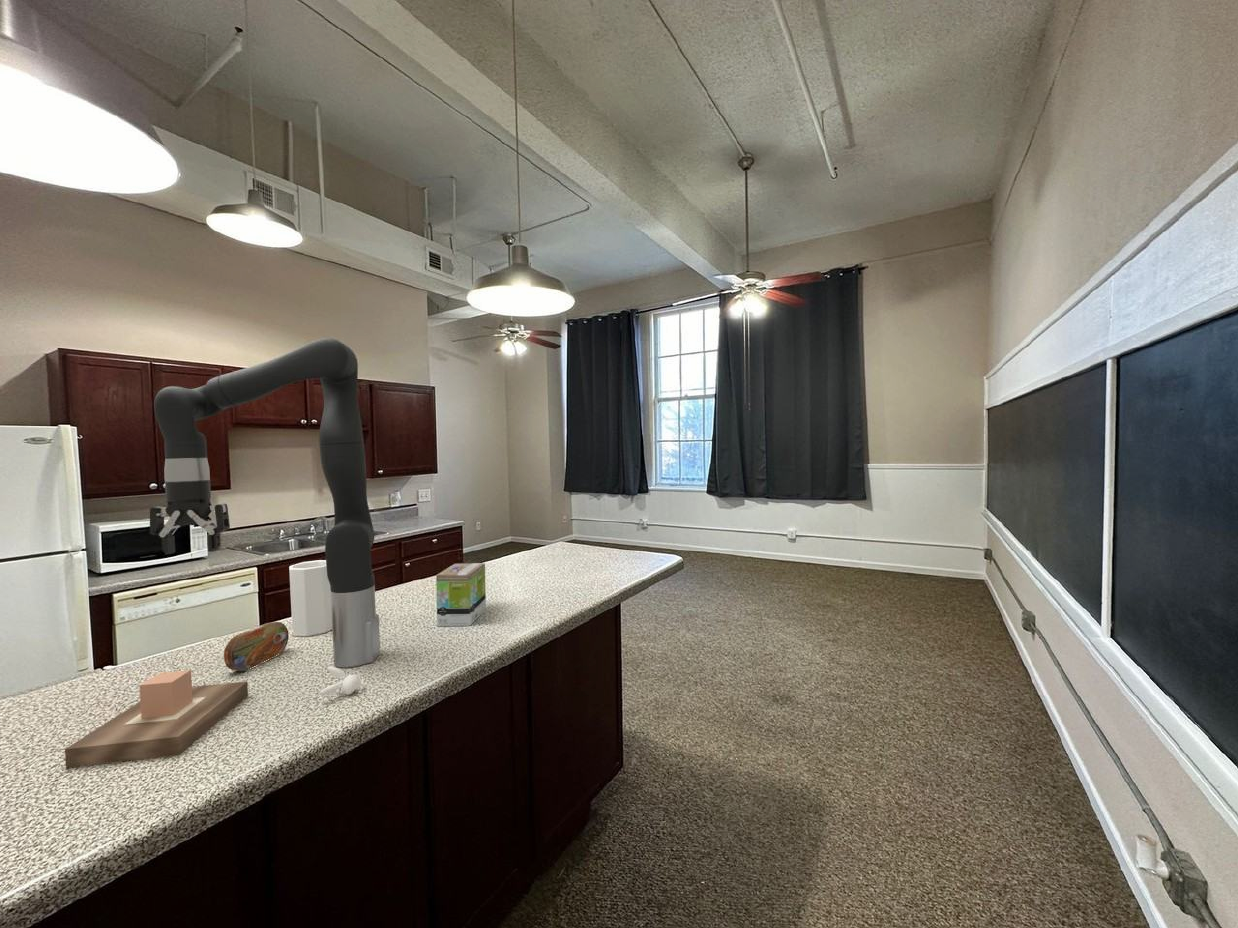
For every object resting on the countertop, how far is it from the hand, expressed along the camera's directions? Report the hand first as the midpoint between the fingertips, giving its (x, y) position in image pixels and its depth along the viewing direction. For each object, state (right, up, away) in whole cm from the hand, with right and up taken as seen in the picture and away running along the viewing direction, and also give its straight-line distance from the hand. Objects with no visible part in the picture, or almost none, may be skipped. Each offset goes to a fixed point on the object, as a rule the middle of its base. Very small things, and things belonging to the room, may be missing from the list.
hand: (191, 552), depth 110 cm
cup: (+9, -27, +30) cm, 41 cm away
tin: (+9, -28, +8) cm, 30 cm away
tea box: (+49, -26, +36) cm, 66 cm away
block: (+12, -25, -20) cm, 34 cm away
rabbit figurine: (+38, -28, -9) cm, 48 cm away
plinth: (+12, -28, -19) cm, 37 cm away
